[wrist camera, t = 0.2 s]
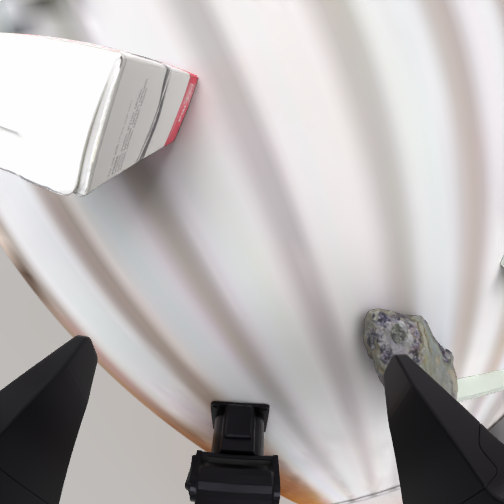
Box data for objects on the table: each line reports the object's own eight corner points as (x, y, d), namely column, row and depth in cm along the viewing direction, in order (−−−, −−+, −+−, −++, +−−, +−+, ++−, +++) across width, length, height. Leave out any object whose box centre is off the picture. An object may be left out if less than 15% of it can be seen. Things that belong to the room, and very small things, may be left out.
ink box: (204, 72, 17) (127, 54, 6) (175, 143, 19) (82, 215, 9) (90, 40, 15) (-43, 32, 5) (68, 107, 18) (-62, 149, 7)
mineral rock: (358, 293, 25) (394, 392, 16) (466, 270, 23) (524, 346, 15) (355, 385, 31) (372, 465, 22) (442, 363, 29) (472, 433, 21)
